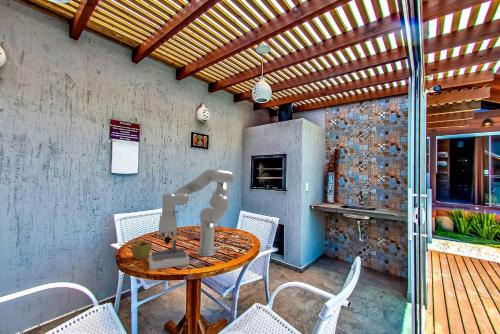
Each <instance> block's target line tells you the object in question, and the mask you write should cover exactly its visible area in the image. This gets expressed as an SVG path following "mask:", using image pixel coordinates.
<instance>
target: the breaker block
mask: <svg viewBox="0 0 500 334" xmlns="http://www.w3.org/2000/svg"><path fill="white" fill-rule="evenodd" d="M170 251H172V249H170V250H169V249H168V250H161V251H152V252H151V254H149V255H148V261H147V262H148V266H149V267H148V268H149V271H152V270H154V269H155V270H160V269H167V268H173V267H181V266H186V265H190V256H189V254H188V253H187V251H186V250H185V249H184V248H176V251H177V252H178V253H172V254H170Z"/></svg>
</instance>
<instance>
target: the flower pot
mask: <svg viewBox="0 0 500 334" xmlns="http://www.w3.org/2000/svg"><path fill="white" fill-rule="evenodd" d="M152 244H153V243H152V242H147V241H138V242H136V243H133V244H131V245H130V247H131V254H132V256H133V259H136V260H139V261H141V260H143V259H146V258H148V257H149V255H150V253H151V250H152Z"/></svg>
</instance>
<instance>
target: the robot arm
mask: <svg viewBox="0 0 500 334" xmlns="http://www.w3.org/2000/svg"><path fill="white" fill-rule="evenodd" d="M234 181H235V174H234V173H233V172H232V171H226V170H221V169H215V168H214V169H211V168H209V169H207V170H204V172H202V173H201V174H199V175H198V176H196V177H195V179H193V180H192V181H190V182H188V183H186V184H184V185H183V186H181V187H179V188H177V190H175V191H174V192H173V193H163V195H162V203H161V204H162V206H161V207H162V208H161V215H160V217H159V223H158V233H157V234H158V235H159V236H162V237H164V243H165V245H169V244H170V242H171V236H172V235H173V234H177V233H178V231H177V227H178V226H177V225H178V224H177V214H178V211H176V205H178V206H184V205H186V204H188V203H189V202H190V201H189V200H190V196H189V195H191V194H193V193H196V192H200V191H202V190H203V189H204V188H205V187H207V186H208V185H210V183H212V182H216V188H215V191H214V192H213V194H212V195H211V197H210V199H209V202H208V203H209V206H210V207H211V208H210V207H204V208H203V209H202V210H201V211H200V213H199V220H200V233H199V234H200V238H199V250H197V256H200V257H203V258H204V257H206V258H207V257H212V256H215V255H216V253H217V252H216V251H220V250H221V247H220V246H214V245H215V243H214V242H215V225H216V224H220V222H221V220H222V219H223V217H224V215H225V213H226V212H227V210H228V209H229V208H228V207H229V205H230V201H229V199H228V198H227V195H228V194H227V193H228V190H229V188H228V184H231V183H233V182H234ZM167 233H168V234H167Z"/></svg>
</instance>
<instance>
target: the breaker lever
mask: <svg viewBox="0 0 500 334" xmlns="http://www.w3.org/2000/svg"><path fill="white" fill-rule="evenodd" d="M170 240H172V247H171V250H172V251H170V254H172V253H178V252H177V251H176V249H177V241H178V240H179V236H178V234H177V233H175V234H173V235H172V236H171V237H170Z"/></svg>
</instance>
